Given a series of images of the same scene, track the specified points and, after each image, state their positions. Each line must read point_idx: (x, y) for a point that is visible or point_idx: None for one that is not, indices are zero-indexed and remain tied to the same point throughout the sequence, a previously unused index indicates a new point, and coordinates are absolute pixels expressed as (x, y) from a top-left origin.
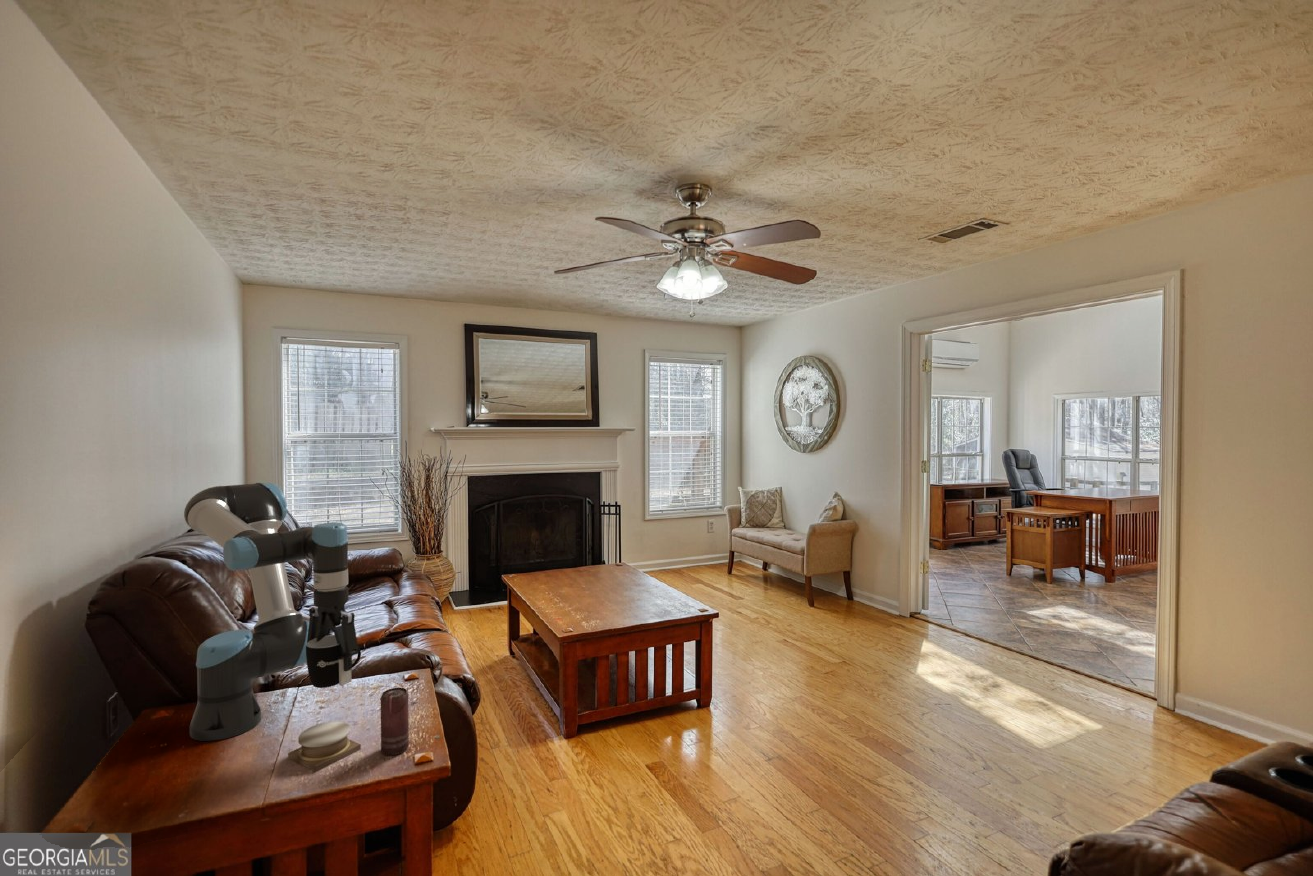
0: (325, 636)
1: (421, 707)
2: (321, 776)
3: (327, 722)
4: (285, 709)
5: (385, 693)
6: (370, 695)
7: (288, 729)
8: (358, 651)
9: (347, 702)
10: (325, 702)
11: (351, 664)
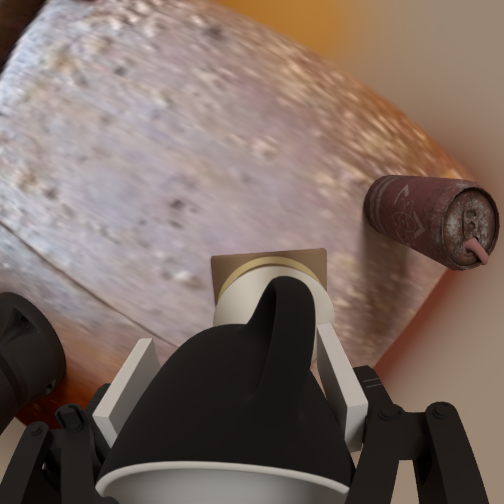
0: (101, 494)
1: (255, 35)
2: (345, 345)
3: (223, 294)
4: (15, 249)
5: (446, 243)
6: (82, 84)
7: (97, 292)
8: (455, 409)
9: (70, 140)
10: (36, 176)
11: (381, 383)
